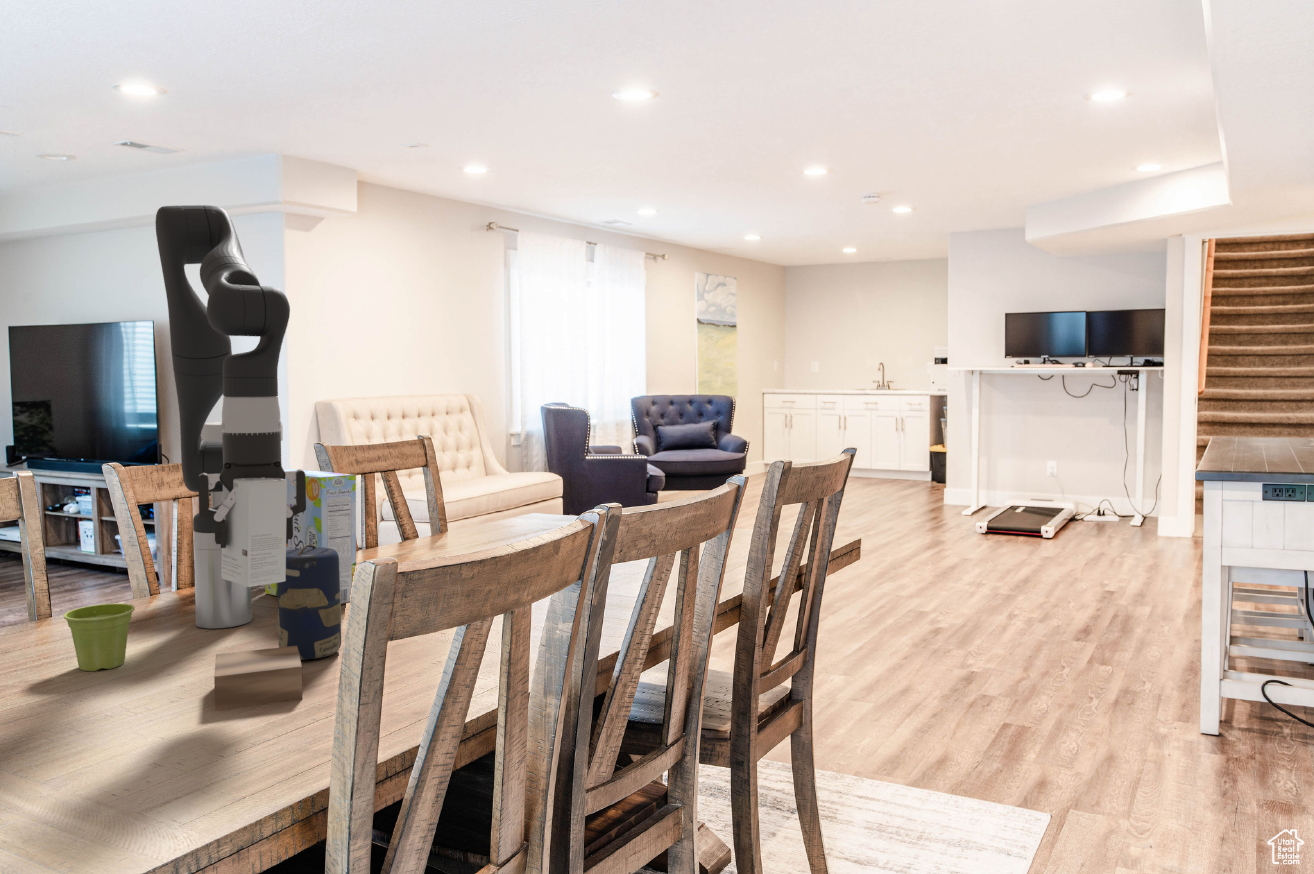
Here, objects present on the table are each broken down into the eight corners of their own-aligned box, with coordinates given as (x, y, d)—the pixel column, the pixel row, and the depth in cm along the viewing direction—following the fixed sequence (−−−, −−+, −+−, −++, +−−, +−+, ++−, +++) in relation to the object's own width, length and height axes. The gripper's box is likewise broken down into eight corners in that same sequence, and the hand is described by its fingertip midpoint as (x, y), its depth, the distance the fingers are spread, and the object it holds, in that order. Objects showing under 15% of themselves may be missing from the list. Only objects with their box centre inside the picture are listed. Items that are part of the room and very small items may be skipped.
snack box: (361, 601, 185) (358, 473, 184) (321, 610, 178) (319, 477, 177) (301, 586, 199) (298, 466, 197) (262, 593, 192) (259, 470, 190)
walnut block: (216, 688, 135) (216, 654, 135) (297, 678, 139) (297, 645, 139) (215, 713, 125) (214, 676, 125) (302, 701, 129) (301, 666, 129)
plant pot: (104, 677, 138) (102, 620, 138) (50, 673, 140) (48, 616, 140) (150, 658, 148) (148, 605, 147) (99, 654, 150) (97, 601, 149)
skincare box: (220, 579, 132) (217, 475, 131) (261, 572, 136) (259, 472, 135) (248, 588, 126) (245, 480, 125) (290, 581, 131) (288, 476, 130)
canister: (354, 649, 153) (352, 541, 152) (315, 666, 144) (312, 551, 143) (306, 644, 156) (303, 538, 155) (265, 660, 147) (262, 547, 146)
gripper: (304, 426, 136) (306, 537, 137) (195, 428, 130) (199, 544, 131) (308, 429, 129) (310, 546, 130) (193, 431, 123) (196, 553, 124)
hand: (254, 545), depth 131 cm, fingers closed on skincare box, 7 cm apart
